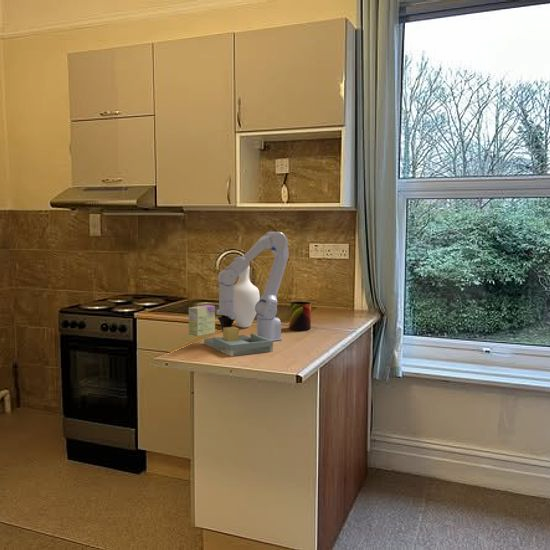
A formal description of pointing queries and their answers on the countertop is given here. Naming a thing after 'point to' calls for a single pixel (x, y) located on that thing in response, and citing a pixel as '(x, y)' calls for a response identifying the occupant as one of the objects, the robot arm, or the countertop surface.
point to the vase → (245, 300)
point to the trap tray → (241, 345)
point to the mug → (299, 316)
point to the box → (201, 320)
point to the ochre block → (230, 333)
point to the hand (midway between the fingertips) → (226, 334)
